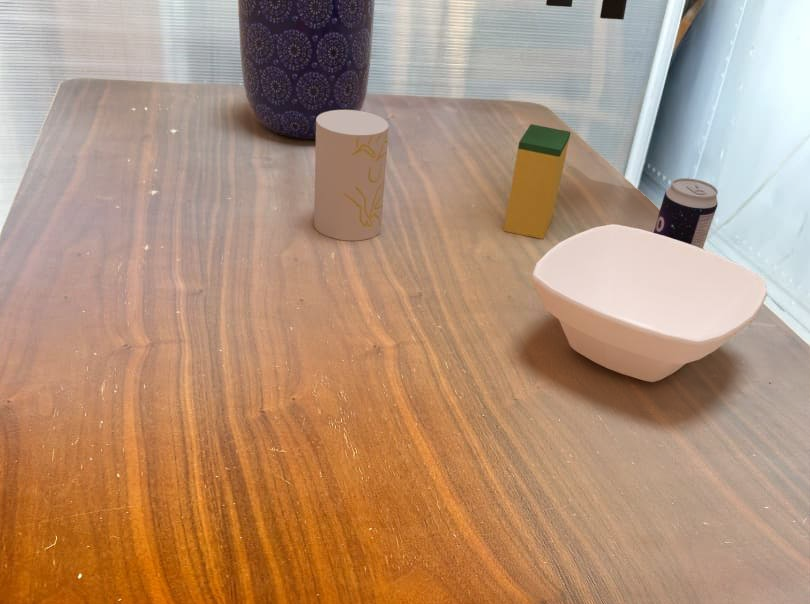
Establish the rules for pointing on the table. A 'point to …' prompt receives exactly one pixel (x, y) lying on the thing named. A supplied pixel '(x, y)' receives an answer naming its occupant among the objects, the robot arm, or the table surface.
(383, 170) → the beige patterned cylinder
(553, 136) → the sponge
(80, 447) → the table surface
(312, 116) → the planter
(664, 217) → the beverage can
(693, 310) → the bowl
